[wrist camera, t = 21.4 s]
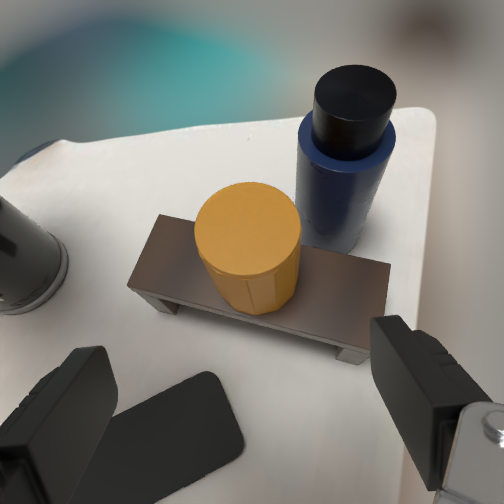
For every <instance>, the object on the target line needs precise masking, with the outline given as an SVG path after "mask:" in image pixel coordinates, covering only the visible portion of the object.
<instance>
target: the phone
mask: <svg viewBox="0 0 504 504" xmlns="http://www.w3.org/2000/svg"><path fill="white" fill-rule="evenodd" d="M243 447H244V441H243V437H242V434H241V432H240V429H239V427H238V424H237V422H236V419H235V417H234V414H233V412H232V409H231V407H230V405H229V402H228V400H227V397H226V395H225V392H224V390H223V388H222V385H221V383H220V381H219V379H218V377H217V376H216V375H215V374H214V373H212V372H209V371H205V372H201V373H199V374H197V375H195V376H193V377H191V378H188V379H186V380H184V381H183V382H181V383H179V384H177V385H174V386H173V387H171V388H169V389H167V390H165V391H163V392H161V393H159V394H157V395H155V396H153V397H151V398H149V399H148V400H146V401H144V402H142V403H140V404H138V405H136V406H134V407H132V408H130V409H128V410H126V411H124V412H122V413H120V414H118V415H116V416H114V417H112V418H111V419H110V421H109V423H108V425H107V427H106V429H105V431H104V433H103V435H102V437H101V440H100V442H99V444H98V446H97V448H96V450H95V452H94V454H93V456H92V458H91V460H90V462H89V464H88V466H87V468H86V470H85V472H84V474H83V476H82V478H81V480H80V482H79V484H78V486H77V488H76V490H75V492H74V494H73V496H72V498H71V500H70V502H69V504H154V503H155V502H157V501H159V500H161V499H163V498H165V497H167V496H168V495H170V494H172V493H174V492H176V491H178V490H179V489H181V488H183V487H186V486H188V485H190V484H192V483H194V482H195V481H197V480H199V479H201V478H203V477H205V475H207V474H209V473H211V472H213V471H214V470H216V469H218V468H220V467H222V466H224V465H226V464H227V463H229V462H231V461H233V460H234V459H236V458H237V457H238V456H239V455H240V454H241V452H242V450H243Z"/></svg>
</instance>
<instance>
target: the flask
mask: <svg viewBox="0 0 504 504" xmlns="http://www.w3.org/2000/svg"><path fill="white" fill-rule="evenodd" d="M396 95H397V92H396V87H395V85H394V83H393V81H392V80H391V79H390V78H389V77H388V76H387V75H386V74H385V73H383V72H382V71H380V70H377V69H375V68H372V67H369V66H364V65H345V66H341V67H337V68H335V69H332V70H330V71H329V72H327V73H326V74H324V75H323V76H322V77H321V78H320V80H319V81H318V83H317V85H316V87H315V93H314V105H313V110H312V111H310V113H308V114H307V115H306V116H305V118H304V119H303V121H302V122H301V124H300V127H299V131H298V148H297V172H296V196H295V207H296V208H297V211H298V213H299V217H300V223H301V226H302V237H301V245H305V246H309V247H314V248H319V249H323V250H328V251H333V252H337V253H342V254H348V253H349V252H350V251H351V250H352V249H353V247H354V246H355V244H356V242H357V239H358V237H359V234H360V232H361V229H362V227H363V224H364V222H365V219H366V217H367V214H368V212H369V209H370V206H371V204H372V201H373V199H374V196H375V194H376V191H377V189H378V186H379V184H380V181H381V179H382V176H383V174H384V171H385V169H386V166H387V164H388V161H389V159H390V156H391V154H392V151H393V149H394V146H395V142H396V134H395V130H394V127H393V125H392V123H391V121H390V120H389V118H390V115H391V112H392V109H393V106H394V103H395V100H396Z"/></svg>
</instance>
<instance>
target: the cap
mask: <svg viewBox="0 0 504 504" xmlns="http://www.w3.org/2000/svg"><path fill="white" fill-rule="evenodd" d="M194 235H195V241H196V245H197V247H198V252H199V255H200V257H201V259H202V261H203V263H204V265H205V267H206V268H207V270H208V272H209V274H210V276H211V278H212V280H213V282H214V284H215V285H216V287H217V289H218V291H219V293H220V295H221V296H222V297H223V298H224V299H225V300H226V301H227V302H228V304H229V305H230V306H231V307H232V308H233V309H234V310H236V311H240V312H244V313H248V314H251V315H255V316H256V315H261V314H265V313H269V312H272V311H276V310H277V309H279V308H280V307H281V306H283V305H284V304H285V303H286V302H287V301H288V300H289V299H290V298H291V297H292V296H293V294H294V290H295V286H296V282H297V278H298V272H299V260H300V248H301V237H302V226H301V223H300V217H299V213H298V211H297V208H296V207H295V205H294V203H293V202H292V201H291V200H290V198H289V197H288V196H287V195H285V194H284V193H283V192H282V191H280V190H279V189H277V188H275V187H272V186H270V185H267V184H263V183H257V182H244V183H238V184H234V185H230V186H228V187H225V188H223V189H221V190H220V191H218V192H216V193H215V194H214V195H212V196H211V197H210V198H209V199H208V200H207V201H206V202H205V204H204V205H203V206H202V208H201V209H200V211H199V213H198V215H197V218H196V221H195V227H194Z"/></svg>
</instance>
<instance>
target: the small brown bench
mask: <svg viewBox="0 0 504 504" xmlns="http://www.w3.org/2000/svg"><path fill="white" fill-rule="evenodd" d="M194 227H195V222H193V221H189V220H184V219H179V218H175V217H170V216H165V215H161V214H159V216H158V218H157V220H156V222H155V224H154V227H153V229H152V231H151V233H150V235H149V238H148V240H147V242H146V244H145V246H144V248H143V251H142V253H141V255H140V257H139V259H138V262H137V264H136V266H135V268H134V270H133V272H132V275H131V277H130V279H129V281H128V283H127V286H128V287H129V288H130V289H131V290H133V291H134V292H136V293H138V294H139V295H140V296H141V297H142V298H143V299H145V300H146V301H147V302H148V303H149V304H151V305H152V306H153V307H154V308H155V309H157V310H158V311H162V312H166V313H169V314H173V315H175V314H176V311H177V309H178V306H179V304H182V305H186V306H190V307H193V308H197V309H201V310H205V311H208V312H212V313H216V314H220V315H223V316H227V317H231V318H235V319H238V320H242V321H246V322H250V323H253V324H257V325H261V326H265V327H268V328H272V329H276V330H280V331H283V332H287V333H291V334H294V335H298V336H302V337H306V338H309V339H313V340H317V341H321V342H324V343H328V344H332V345H336V346H337V352H336V357H335V359H336V360H340V361H344V362H347V363H351V364H355V365H359V364H360V363H361V362H363V361H364V360H365V359H367V358H368V357H369V356H370V320H371V318H372V317H381V316H384V312H385V304H386V297H387V290H388V283H389V275H390V268H391V264H389V263H384V262H379V261H375V260H370V259H365V258H361V257H356V256H351V255H347V254H342V253H337V252H333V251H328V250H323V249H319V248H314V247H309V246H305V245H301V248H300V260H299V272H298V278H297V282H296V286H295V290H294V294H293V296H292V297H291V298H290V299H289V300H288V301H287V302H286V303H285V304H284V305H283V306H281V307H280V308H279V309H277V310H276V311H272V312H269V313H265V314H261V315H256V316H255V315H251V314H248V313H244V312H240V311H236V310H234V309H233V308H232V307H231V306H230V305H229V304H228V302H227V301H226V300H225V299H224V298H223V297H222V296H221V295H220V293H219V291H218V289H217V287H216V285H215V284H214V282H213V280H212V278H211V276H210V274H209V272H208V270H207V268H206V267H205V265H204V263H203V261H202V259H201V257H200V255H199V252H198V247H197V245H196V241H195V235H194Z"/></svg>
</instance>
